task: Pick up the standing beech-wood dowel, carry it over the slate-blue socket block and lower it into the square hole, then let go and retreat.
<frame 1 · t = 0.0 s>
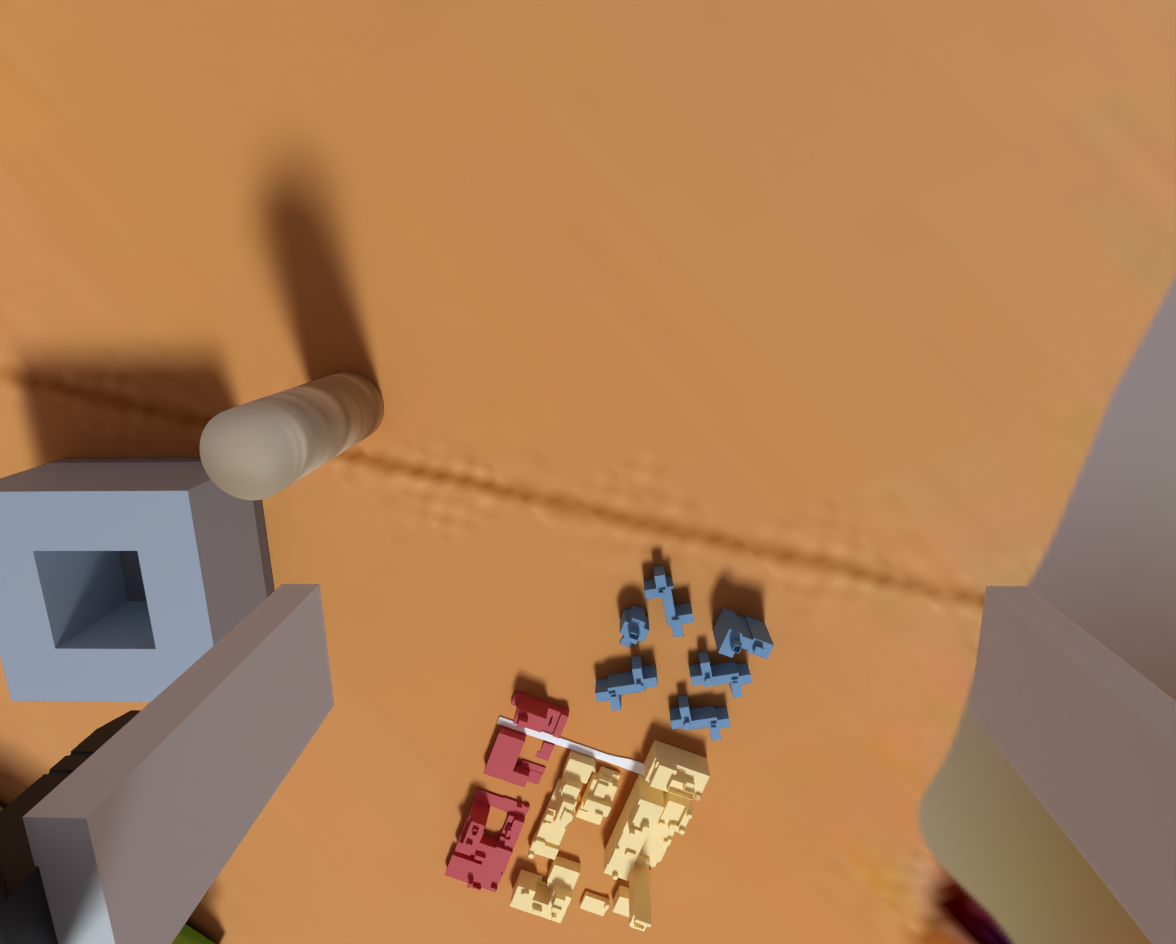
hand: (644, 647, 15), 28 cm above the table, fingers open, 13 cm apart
socket block: (174, 552, 45), on the table
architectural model: (556, 846, 51), on the table
peg: (349, 406, 42), on the table
toy bus: (30, 862, 53), on the table
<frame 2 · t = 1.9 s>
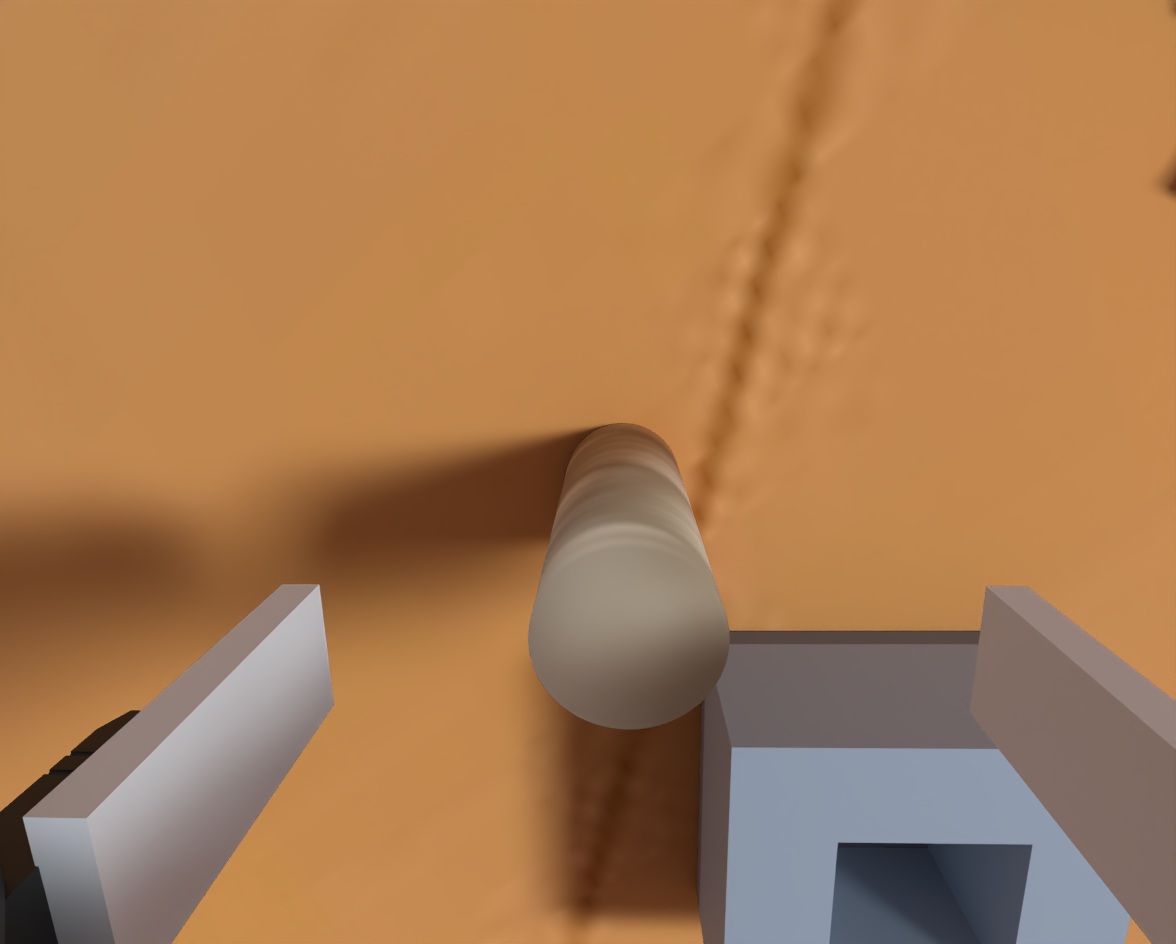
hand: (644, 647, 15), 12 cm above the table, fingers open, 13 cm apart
socket block: (852, 769, 29), on the table
peg: (622, 478, 26), on the table
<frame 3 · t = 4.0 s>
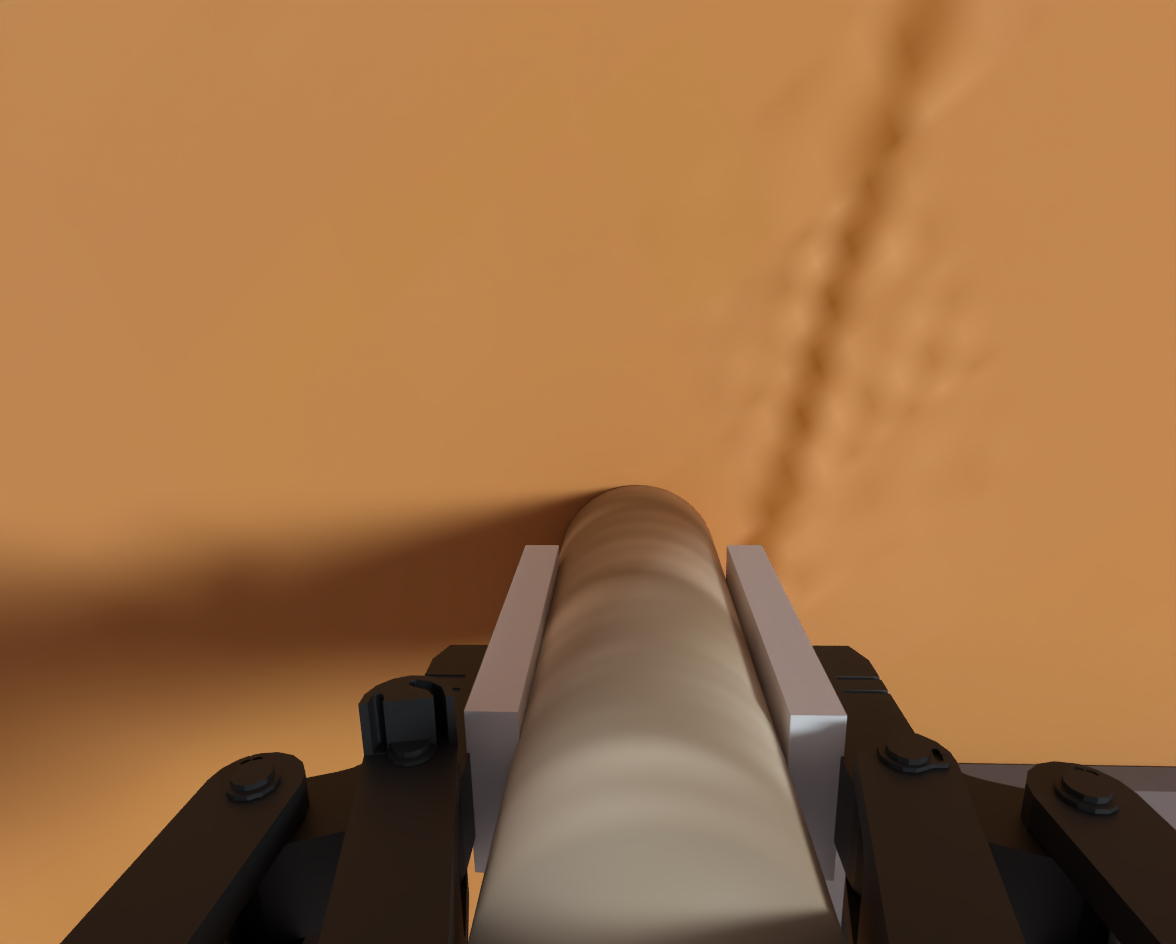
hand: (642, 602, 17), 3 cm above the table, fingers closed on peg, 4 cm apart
socket block: (945, 939, 22), on the table
peg: (637, 559, 19), on the table, touching gripper
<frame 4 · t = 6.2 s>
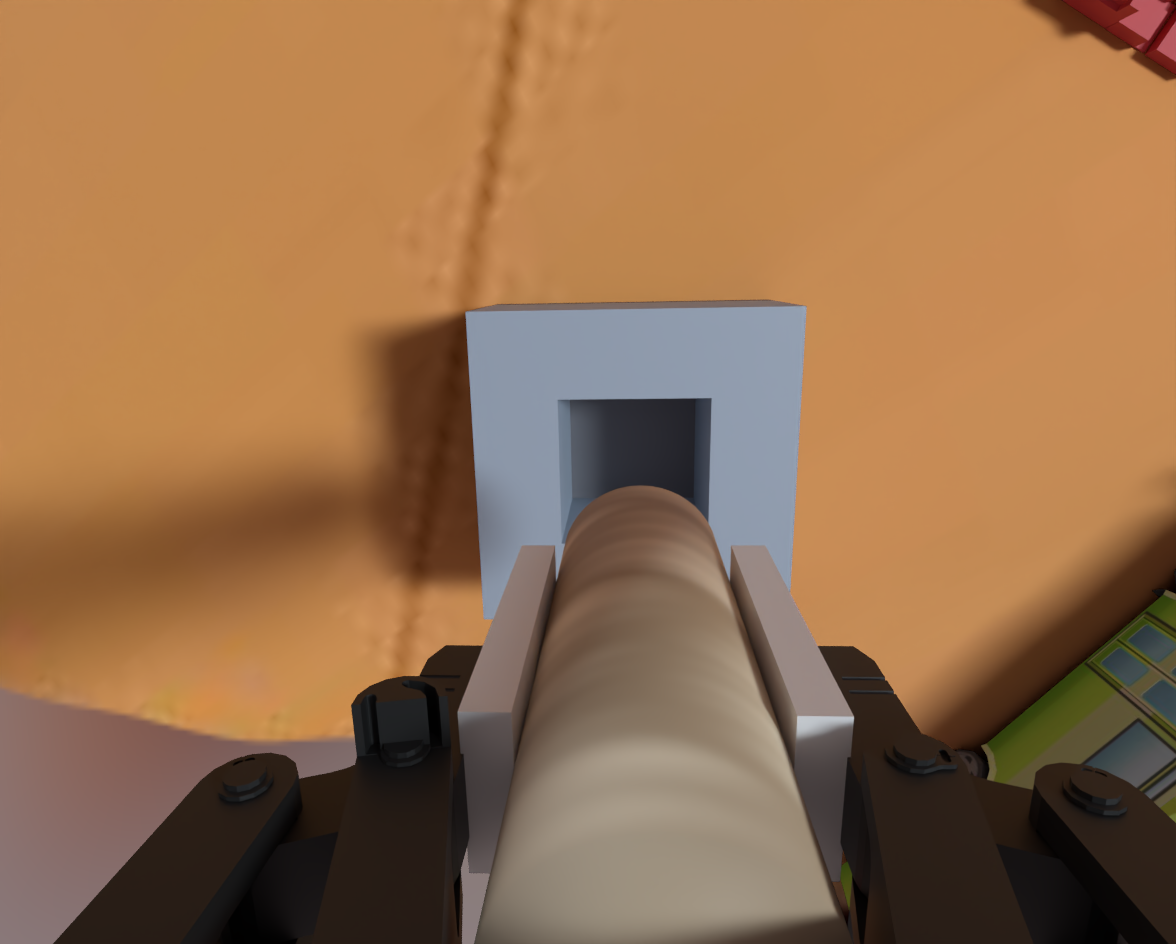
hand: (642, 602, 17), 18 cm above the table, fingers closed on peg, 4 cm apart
socket block: (632, 434, 34), on the table
peg: (640, 559, 19), point 16 cm above the table, touching gripper
toy bus: (1095, 727, 37), on the table
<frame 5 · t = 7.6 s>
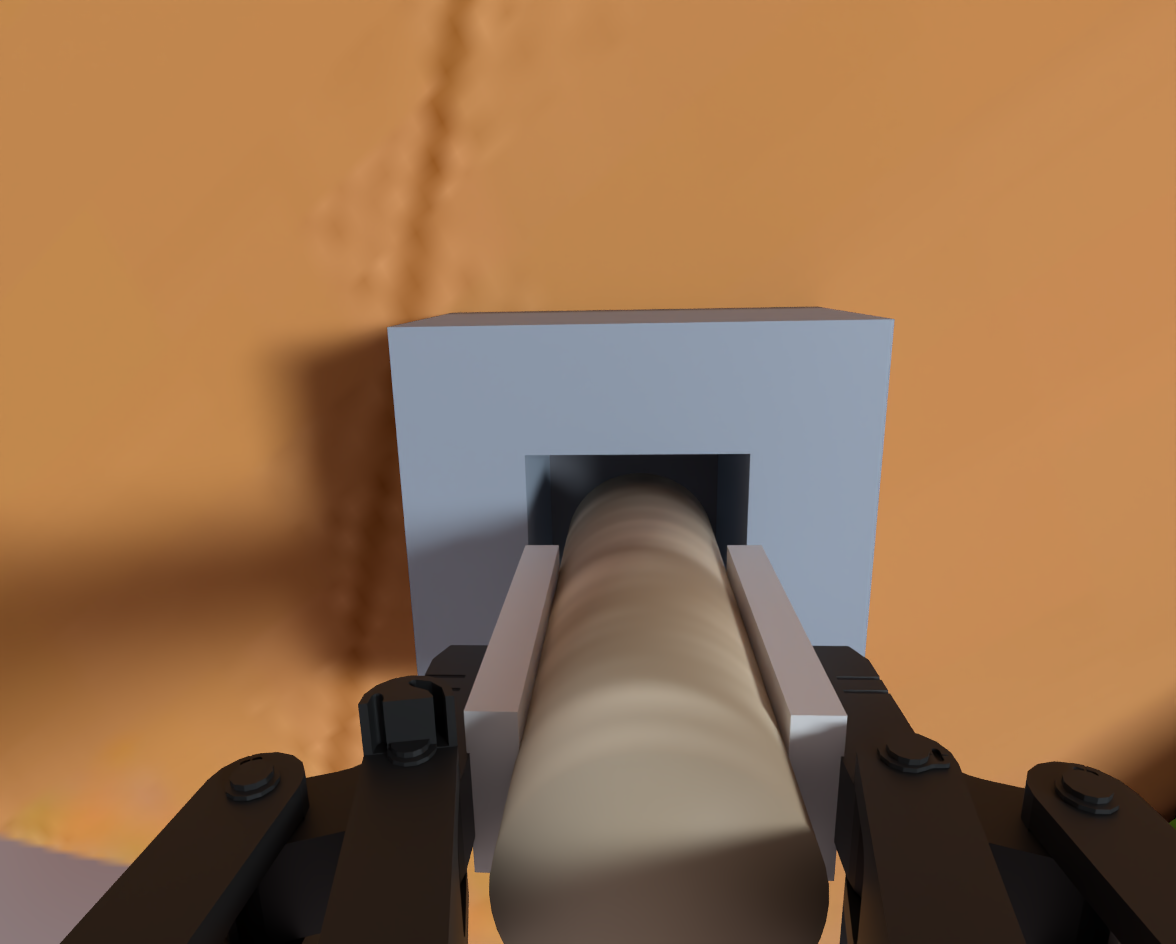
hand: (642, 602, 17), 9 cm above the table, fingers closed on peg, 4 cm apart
socket block: (633, 484, 26), on the table
peg: (639, 542, 20), point 6 cm above the table, touching gripper
when the fingers open (8 cm above the table, at t = 8.6 s): peg drops 3 cm, resting on socket block.
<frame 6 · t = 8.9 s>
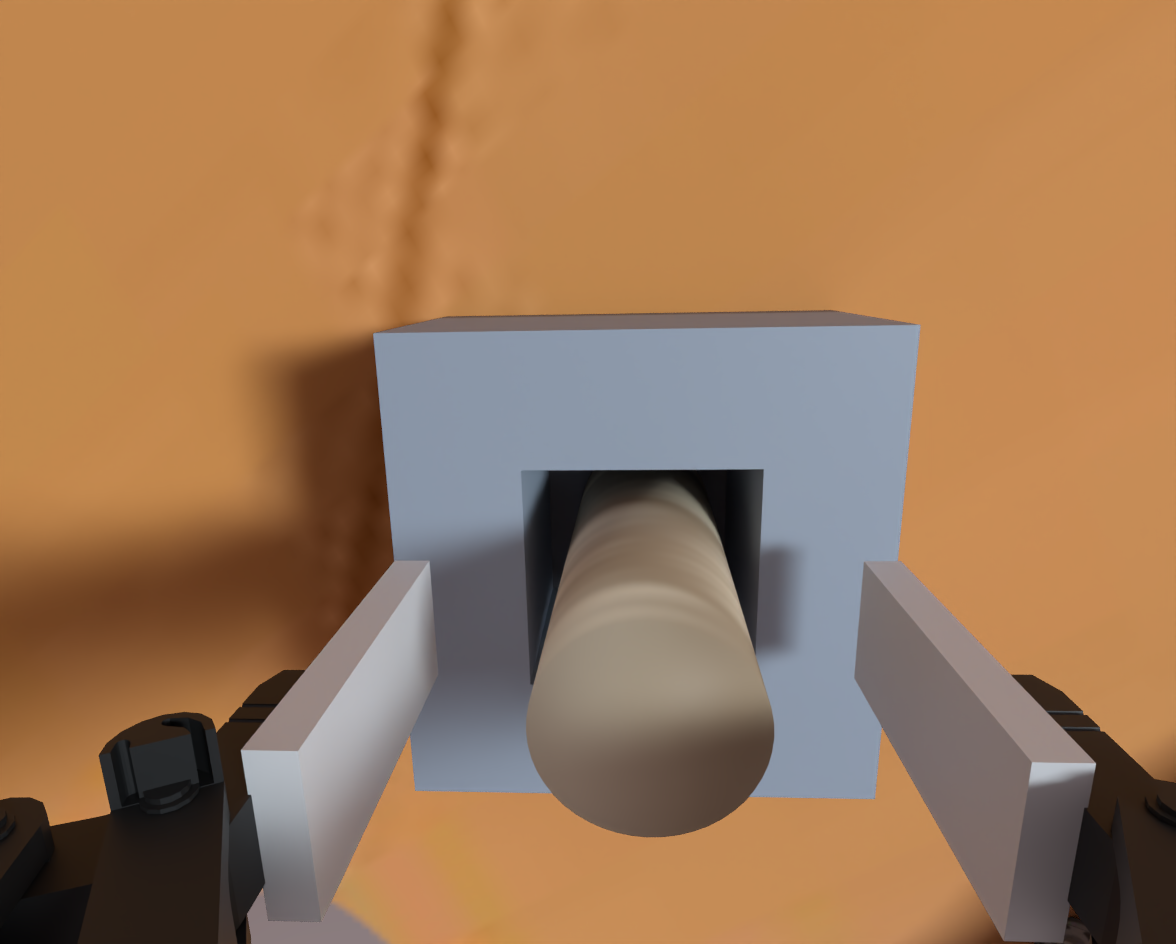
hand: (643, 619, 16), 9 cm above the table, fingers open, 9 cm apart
socket block: (637, 497, 24), on the table
peg: (644, 506, 23), point 1 cm above the table, touching socket block
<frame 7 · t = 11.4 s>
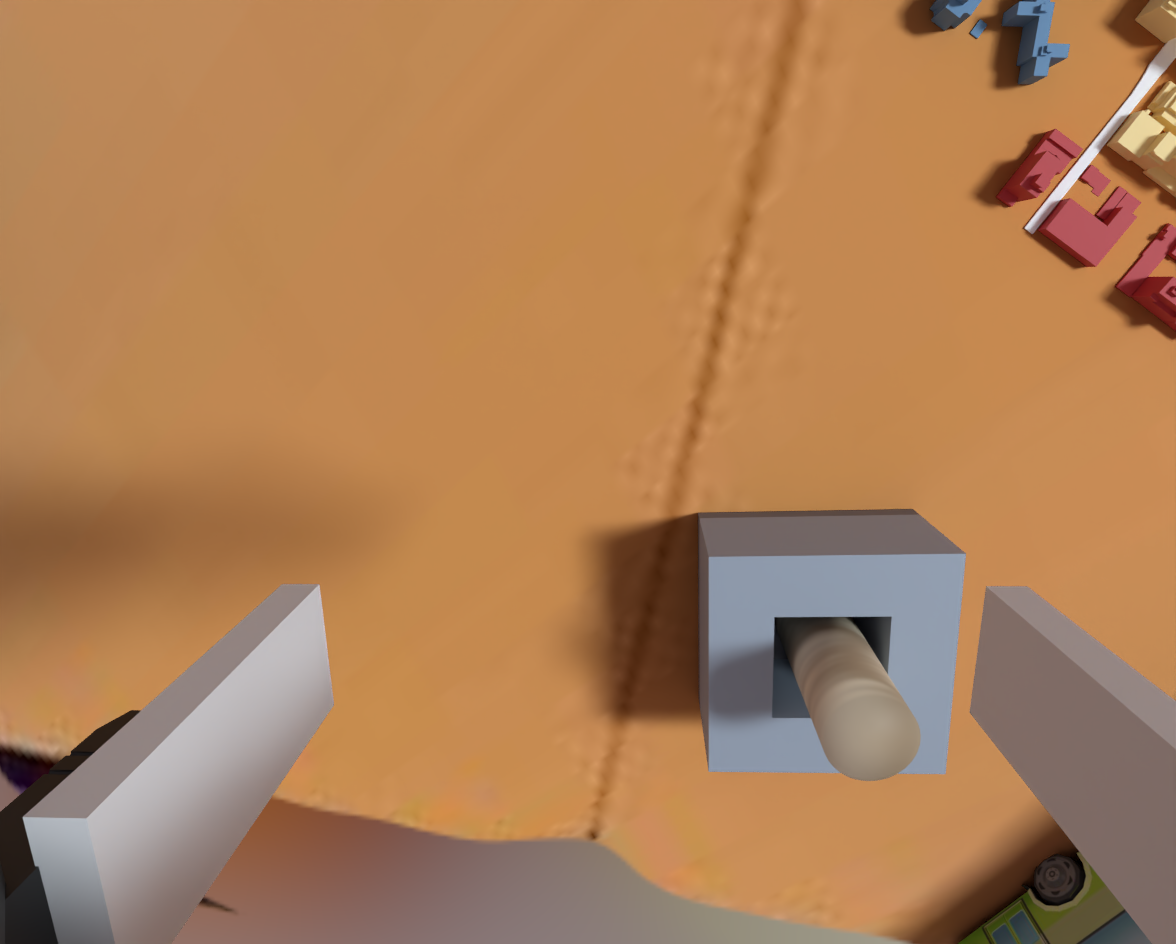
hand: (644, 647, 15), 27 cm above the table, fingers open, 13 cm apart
socket block: (800, 608, 43), on the table
peg: (808, 615, 42), point 1 cm above the table, touching socket block
toy bus: (1170, 839, 46), on the table
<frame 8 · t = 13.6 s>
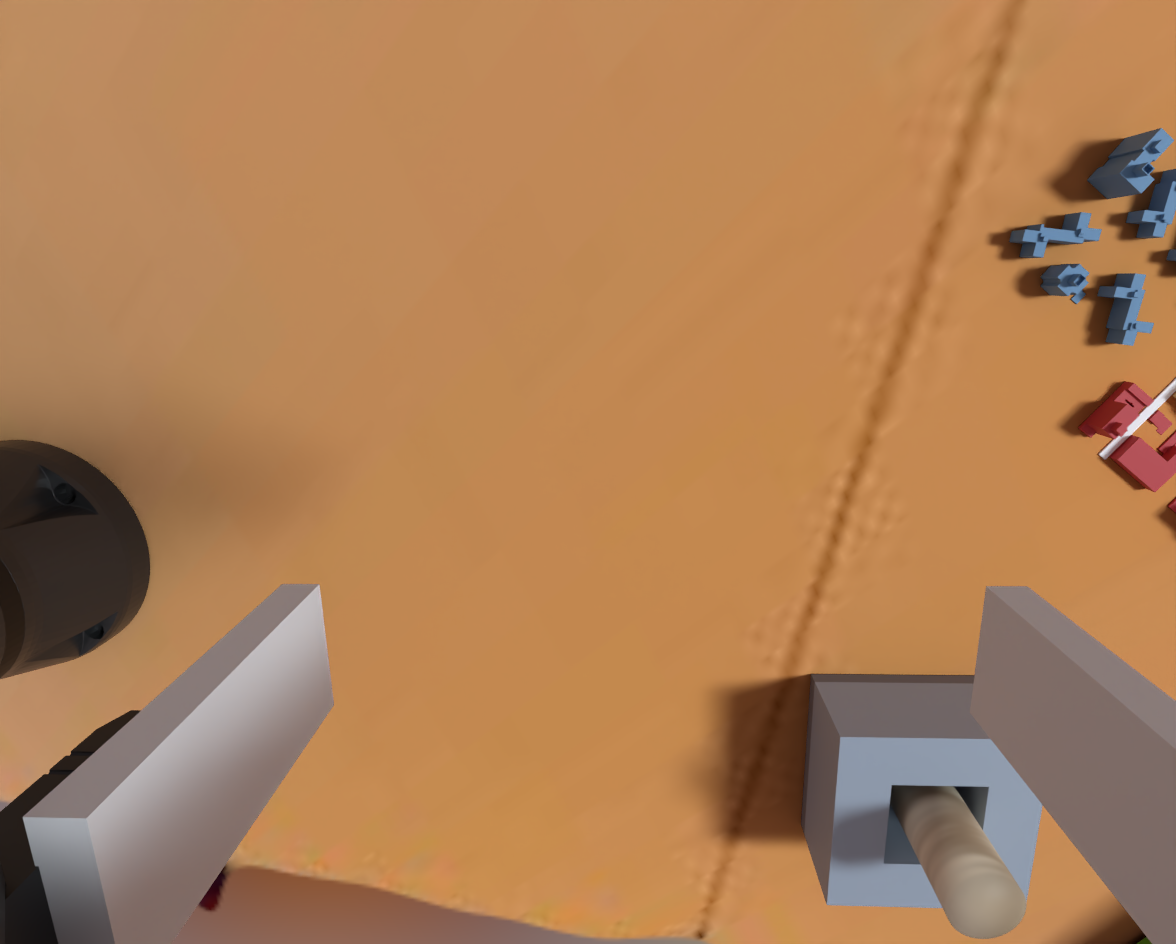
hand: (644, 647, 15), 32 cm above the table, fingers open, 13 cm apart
socket block: (893, 752, 51), on the table
peg: (902, 761, 50), point 1 cm above the table, touching socket block
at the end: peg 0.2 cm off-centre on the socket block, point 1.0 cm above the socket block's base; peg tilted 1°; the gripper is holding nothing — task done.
